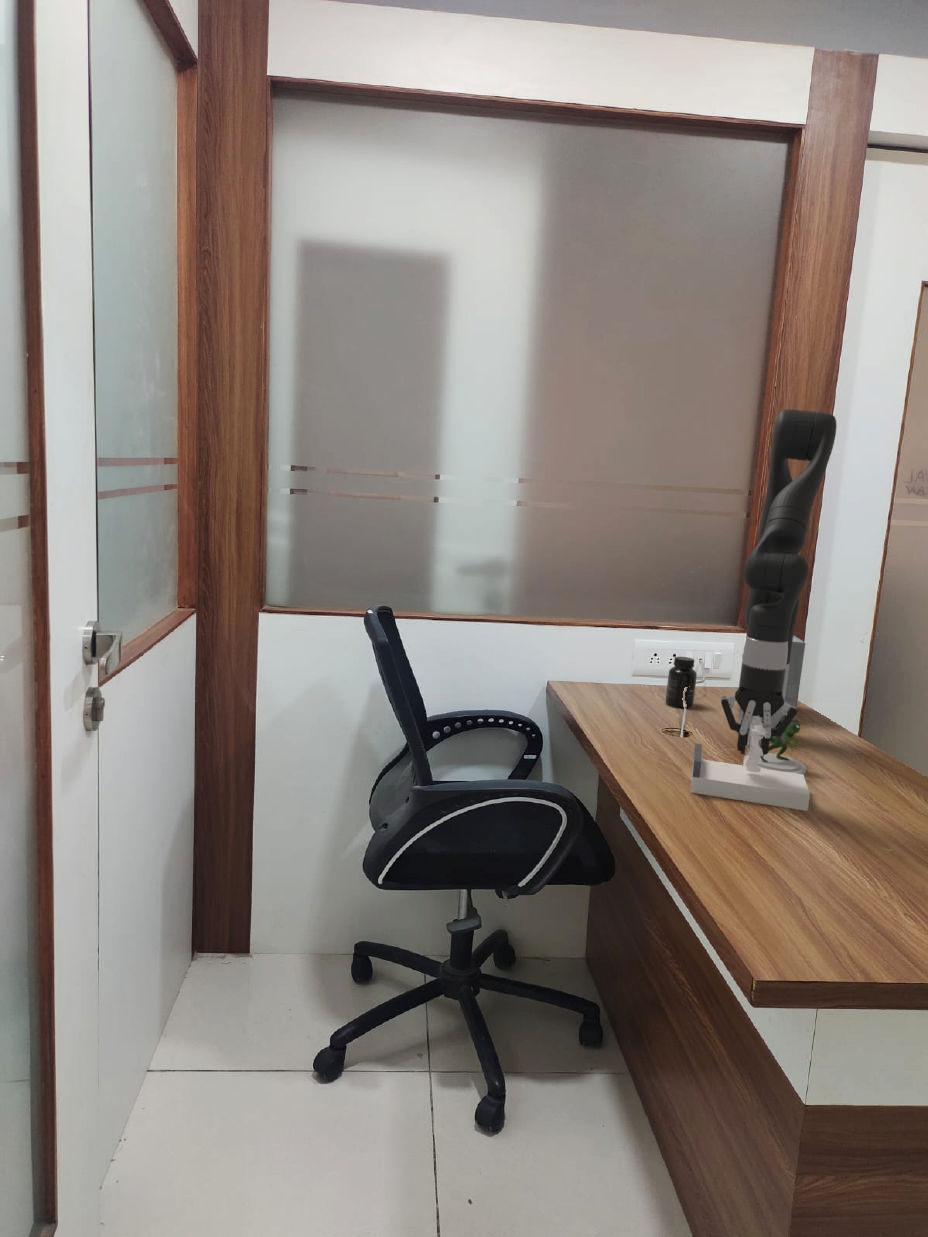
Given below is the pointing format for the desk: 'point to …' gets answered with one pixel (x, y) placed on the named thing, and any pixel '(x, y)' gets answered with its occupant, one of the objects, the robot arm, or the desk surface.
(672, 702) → the supplement bottle
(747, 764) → the white toy figure
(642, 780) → the desk surface
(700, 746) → the rail
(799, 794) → the shelf board
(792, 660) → the hard drive box
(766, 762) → the monster figurine
